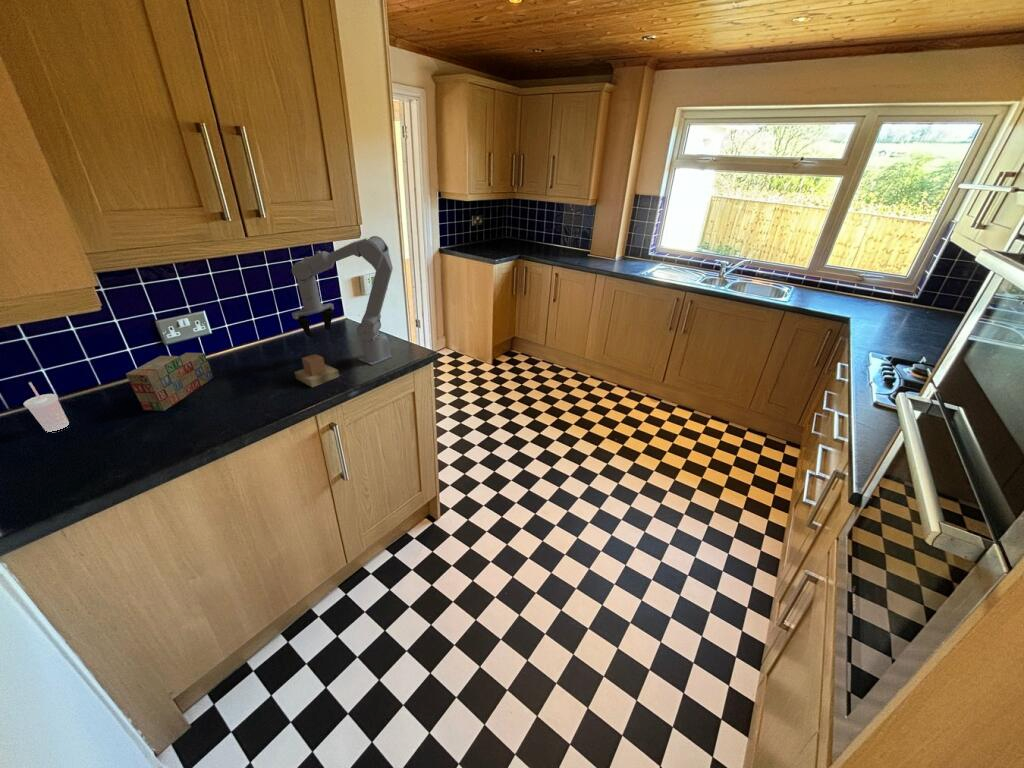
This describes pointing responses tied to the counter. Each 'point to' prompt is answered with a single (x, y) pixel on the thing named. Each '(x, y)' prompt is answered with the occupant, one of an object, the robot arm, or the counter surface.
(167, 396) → the stack of blocks
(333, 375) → the oak block
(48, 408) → the beverage cup
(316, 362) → the brown cube
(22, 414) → the counter surface
